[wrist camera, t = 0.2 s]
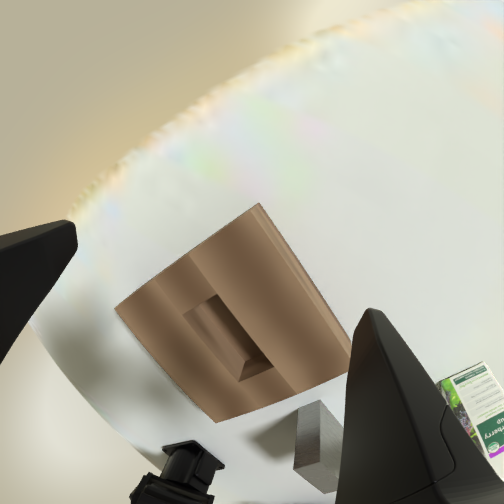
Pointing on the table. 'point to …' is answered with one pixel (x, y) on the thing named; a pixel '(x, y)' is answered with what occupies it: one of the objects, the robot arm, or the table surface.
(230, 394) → the post block
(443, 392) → the syrup box
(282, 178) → the table surface
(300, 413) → the upright grey stone slab
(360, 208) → the table surface
